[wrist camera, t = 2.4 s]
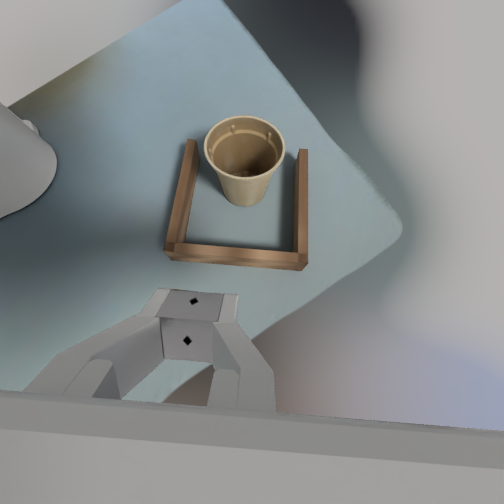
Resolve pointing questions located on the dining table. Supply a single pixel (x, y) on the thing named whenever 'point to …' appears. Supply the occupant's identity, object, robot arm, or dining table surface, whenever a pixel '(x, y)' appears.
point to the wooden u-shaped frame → (232, 255)
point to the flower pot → (244, 156)
